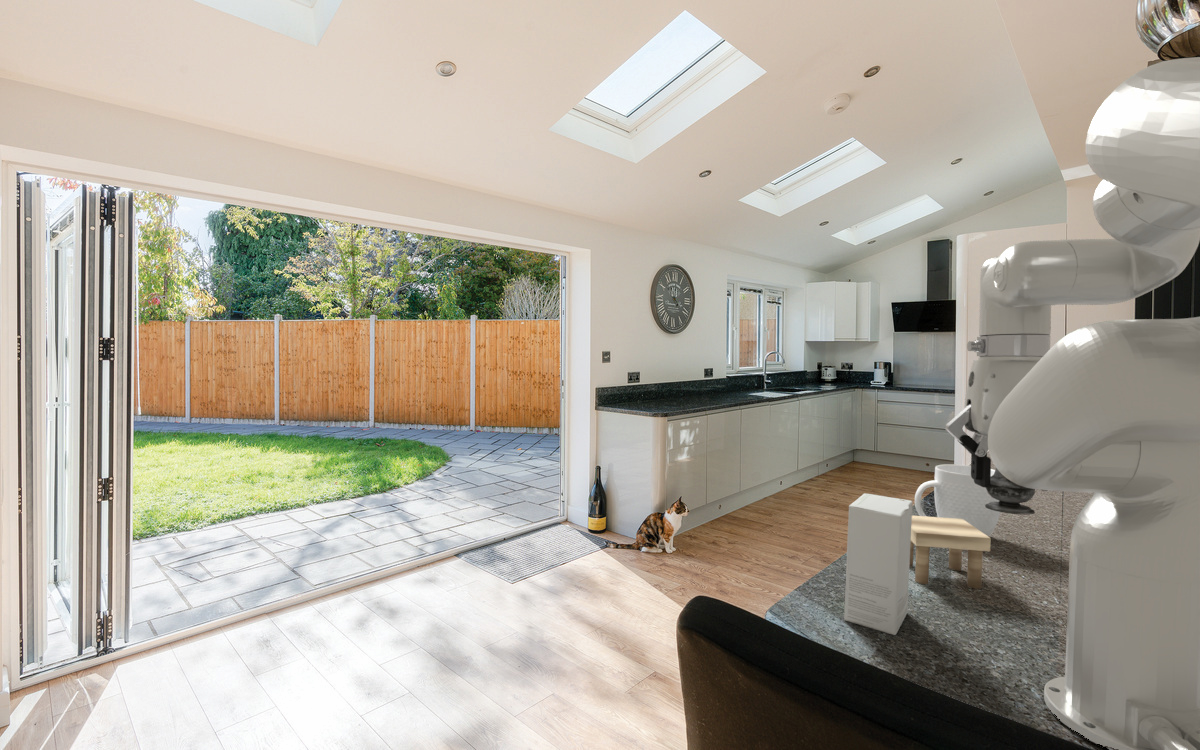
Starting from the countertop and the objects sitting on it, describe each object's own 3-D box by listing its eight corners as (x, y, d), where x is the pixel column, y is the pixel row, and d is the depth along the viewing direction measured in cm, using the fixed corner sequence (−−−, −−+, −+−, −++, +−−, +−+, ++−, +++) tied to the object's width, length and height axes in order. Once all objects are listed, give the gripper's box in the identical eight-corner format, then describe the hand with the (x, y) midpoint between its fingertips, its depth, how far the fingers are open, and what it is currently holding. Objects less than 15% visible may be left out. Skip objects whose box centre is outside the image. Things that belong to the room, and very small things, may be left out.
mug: (927, 542, 103) (929, 473, 103) (902, 525, 114) (904, 462, 114) (1013, 547, 101) (1016, 476, 101) (980, 528, 112) (982, 465, 112)
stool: (988, 591, 82) (990, 538, 82) (914, 584, 84) (916, 532, 84) (960, 566, 92) (962, 518, 91) (895, 560, 94) (896, 514, 94)
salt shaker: (1048, 516, 69) (1049, 421, 69) (995, 513, 70) (997, 419, 70) (1022, 505, 75) (1024, 417, 75) (974, 502, 76) (975, 416, 76)
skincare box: (859, 599, 79) (862, 491, 78) (912, 614, 75) (915, 499, 74) (842, 621, 72) (845, 503, 72) (898, 638, 68) (902, 513, 67)
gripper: (951, 348, 71) (948, 489, 71) (1110, 349, 67) (1106, 497, 67) (930, 350, 78) (927, 477, 78) (1072, 351, 74) (1068, 485, 74)
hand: (1009, 485), depth 73 cm, fingers closed on salt shaker, 5 cm apart
